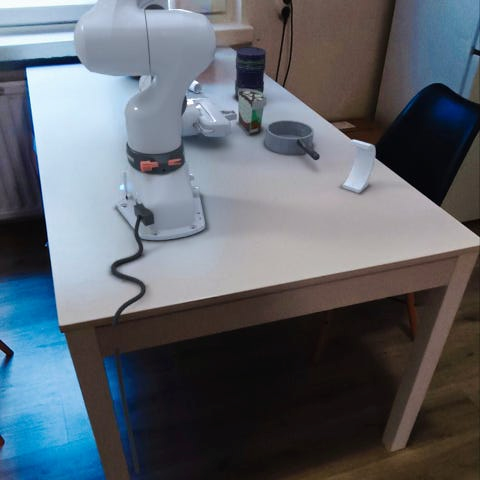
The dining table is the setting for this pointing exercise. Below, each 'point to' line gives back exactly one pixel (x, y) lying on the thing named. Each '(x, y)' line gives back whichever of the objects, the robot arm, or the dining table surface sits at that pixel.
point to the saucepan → (288, 136)
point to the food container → (251, 110)
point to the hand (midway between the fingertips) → (235, 114)
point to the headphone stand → (361, 166)
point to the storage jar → (250, 69)
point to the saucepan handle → (308, 149)
